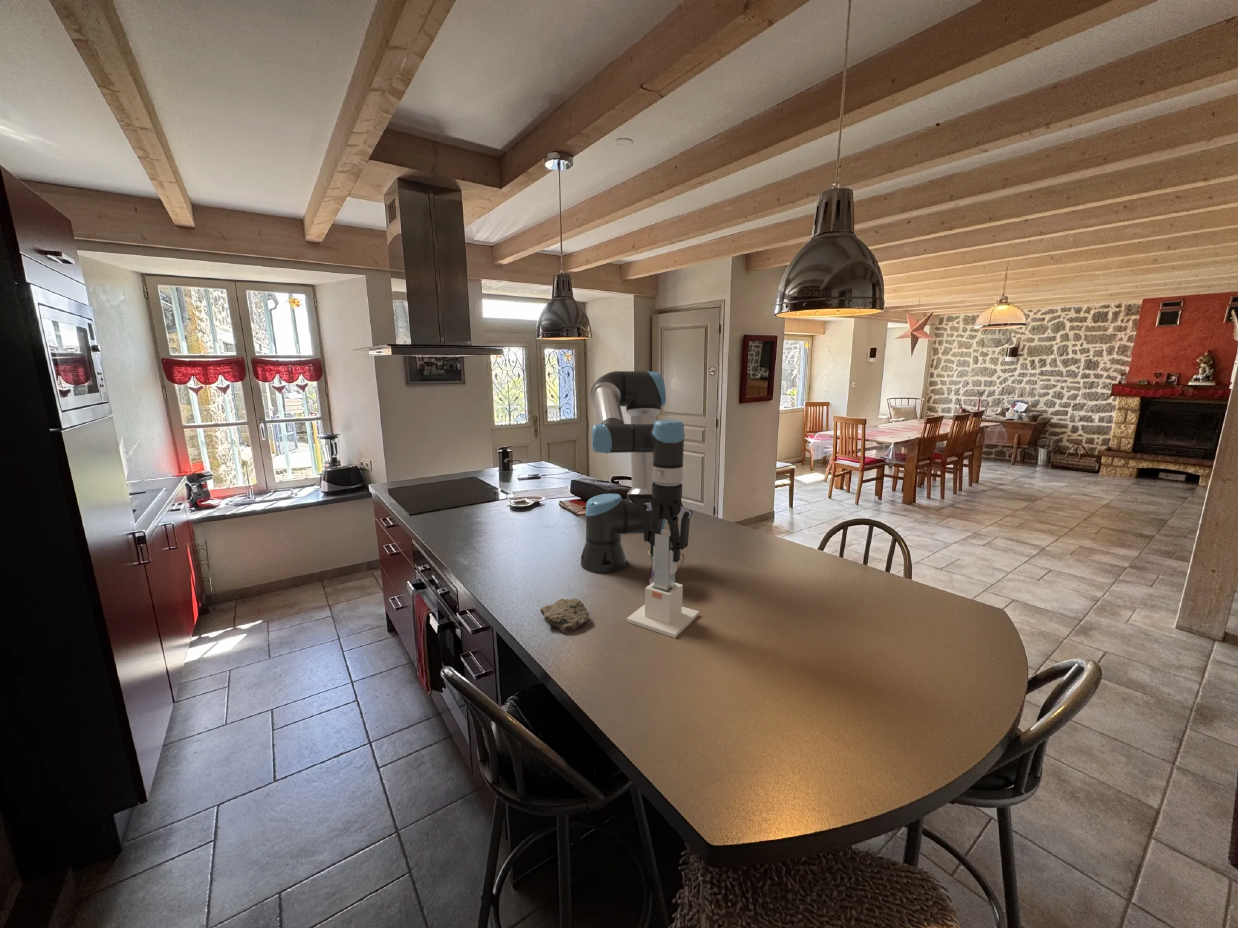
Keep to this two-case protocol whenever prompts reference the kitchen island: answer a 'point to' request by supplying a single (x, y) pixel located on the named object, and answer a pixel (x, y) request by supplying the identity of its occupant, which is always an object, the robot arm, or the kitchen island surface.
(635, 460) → the robot arm
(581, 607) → the rock
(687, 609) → the stand
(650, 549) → the mug
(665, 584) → the column
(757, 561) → the kitchen island surface
